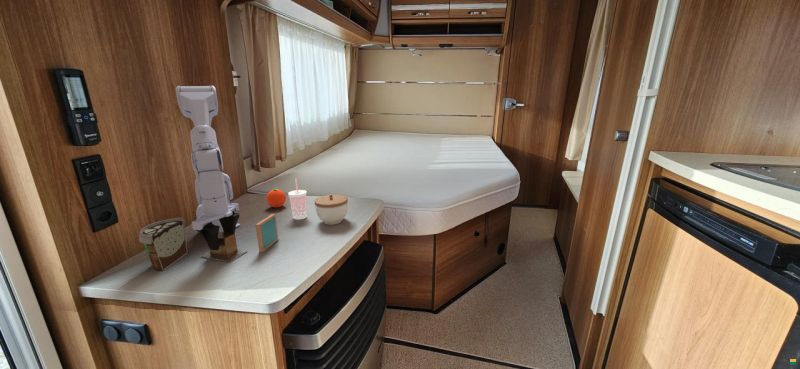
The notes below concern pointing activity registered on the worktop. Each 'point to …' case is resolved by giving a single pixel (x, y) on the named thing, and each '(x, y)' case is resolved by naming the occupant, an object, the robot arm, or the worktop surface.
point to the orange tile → (267, 232)
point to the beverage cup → (298, 203)
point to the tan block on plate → (225, 248)
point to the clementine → (276, 198)
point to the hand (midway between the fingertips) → (222, 244)
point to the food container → (164, 242)
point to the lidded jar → (331, 208)
